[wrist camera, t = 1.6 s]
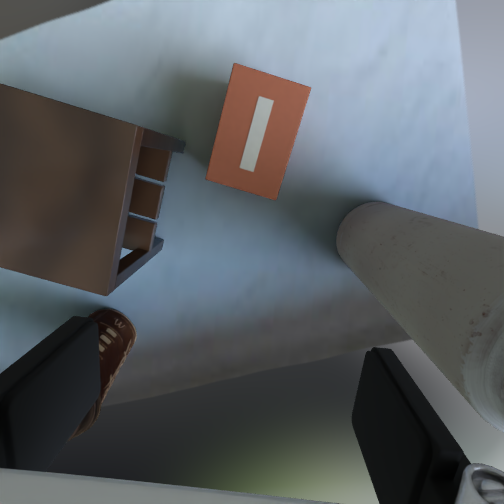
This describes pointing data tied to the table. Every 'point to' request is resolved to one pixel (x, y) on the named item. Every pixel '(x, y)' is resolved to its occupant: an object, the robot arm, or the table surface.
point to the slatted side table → (77, 192)
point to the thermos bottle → (437, 292)
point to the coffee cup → (108, 356)
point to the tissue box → (256, 131)
